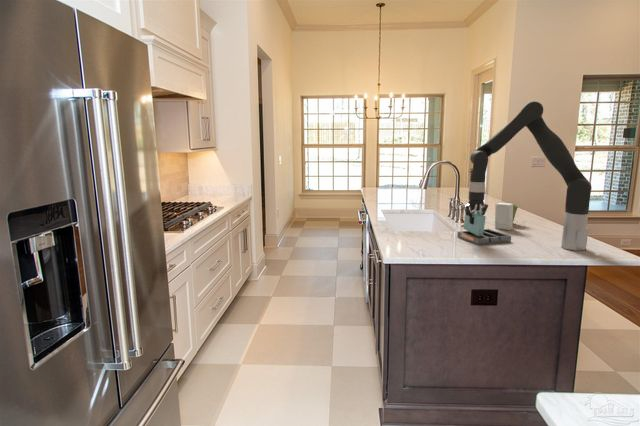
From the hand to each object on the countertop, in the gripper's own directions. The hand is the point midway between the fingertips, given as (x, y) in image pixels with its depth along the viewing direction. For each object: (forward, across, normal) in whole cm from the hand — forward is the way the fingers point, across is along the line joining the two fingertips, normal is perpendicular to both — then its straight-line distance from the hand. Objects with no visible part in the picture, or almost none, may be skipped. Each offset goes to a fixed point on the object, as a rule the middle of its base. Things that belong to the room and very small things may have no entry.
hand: (474, 223), depth 202 cm
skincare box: (+9, +33, +17) cm, 38 cm away
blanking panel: (+5, 0, +1) cm, 5 cm away
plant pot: (+9, +45, +28) cm, 54 cm away
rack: (+9, +6, 0) cm, 11 cm away
